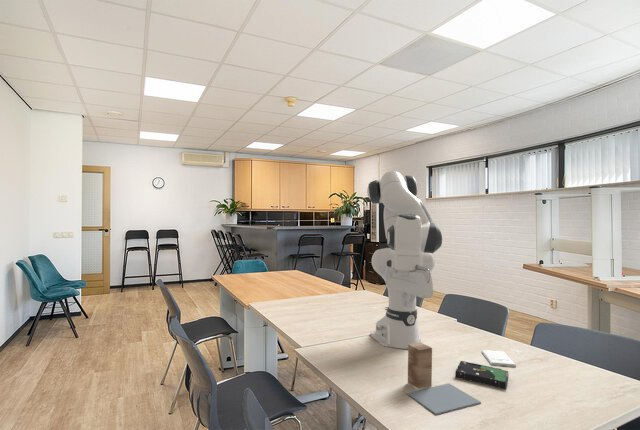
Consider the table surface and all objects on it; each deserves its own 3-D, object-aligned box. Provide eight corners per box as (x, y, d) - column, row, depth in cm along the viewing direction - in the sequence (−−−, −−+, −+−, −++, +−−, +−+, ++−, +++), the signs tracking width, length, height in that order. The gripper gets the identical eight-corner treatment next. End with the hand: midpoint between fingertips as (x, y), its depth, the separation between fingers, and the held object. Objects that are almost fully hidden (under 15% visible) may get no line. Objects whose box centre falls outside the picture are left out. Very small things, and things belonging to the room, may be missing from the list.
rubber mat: (406, 393, 104) (406, 392, 104) (449, 384, 110) (449, 383, 110) (435, 415, 93) (435, 413, 93) (480, 403, 99) (480, 401, 99)
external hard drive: (504, 355, 137) (516, 368, 125) (481, 353, 138) (491, 366, 126) (504, 351, 137) (516, 364, 125) (481, 349, 138) (491, 361, 126)
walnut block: (407, 383, 110) (408, 344, 111) (420, 380, 112) (421, 342, 113) (418, 390, 106) (418, 350, 106) (431, 387, 108) (432, 347, 108)
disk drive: (455, 379, 115) (506, 391, 108) (455, 371, 115) (506, 381, 108) (460, 368, 124) (508, 378, 117) (460, 360, 124) (508, 369, 117)
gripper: (438, 267, 107) (437, 313, 107) (397, 260, 126) (396, 299, 126) (421, 268, 105) (421, 315, 104) (382, 260, 123) (381, 300, 123)
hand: (407, 306), depth 115 cm, fingers closed
